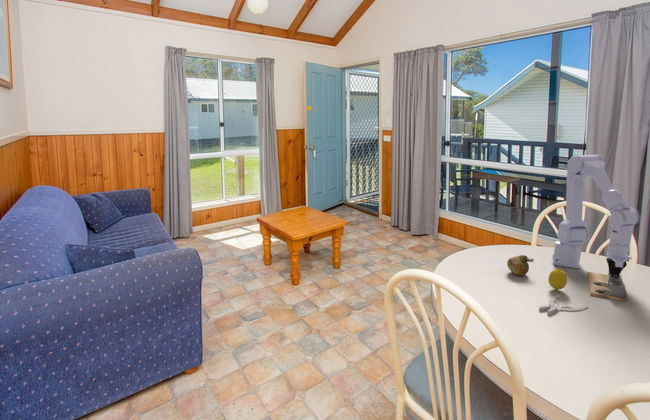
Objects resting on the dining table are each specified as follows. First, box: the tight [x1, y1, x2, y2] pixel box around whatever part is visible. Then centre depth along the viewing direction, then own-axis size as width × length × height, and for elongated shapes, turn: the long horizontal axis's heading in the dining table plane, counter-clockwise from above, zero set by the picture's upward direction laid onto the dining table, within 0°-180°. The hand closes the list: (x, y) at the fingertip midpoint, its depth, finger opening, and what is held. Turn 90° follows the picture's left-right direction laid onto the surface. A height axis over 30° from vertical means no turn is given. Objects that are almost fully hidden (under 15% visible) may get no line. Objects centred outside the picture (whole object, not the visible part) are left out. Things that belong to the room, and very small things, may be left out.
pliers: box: [538, 294, 589, 316], centre depth 127 cm, size 10×2×15 cm
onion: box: [506, 254, 535, 276], centre depth 151 cm, size 8×8×8 cm
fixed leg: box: [598, 281, 626, 297], centre depth 132 cm, size 7×4×4 cm, turn 60°
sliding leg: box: [597, 273, 623, 287], centre depth 138 cm, size 7×4×4 cm, turn 60°
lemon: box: [548, 268, 568, 291], centre depth 137 cm, size 6×6×8 cm
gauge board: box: [586, 271, 628, 303], centre depth 140 cm, size 10×20×2 cm, turn 150°
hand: (612, 279), depth 140 cm, fingers closed
